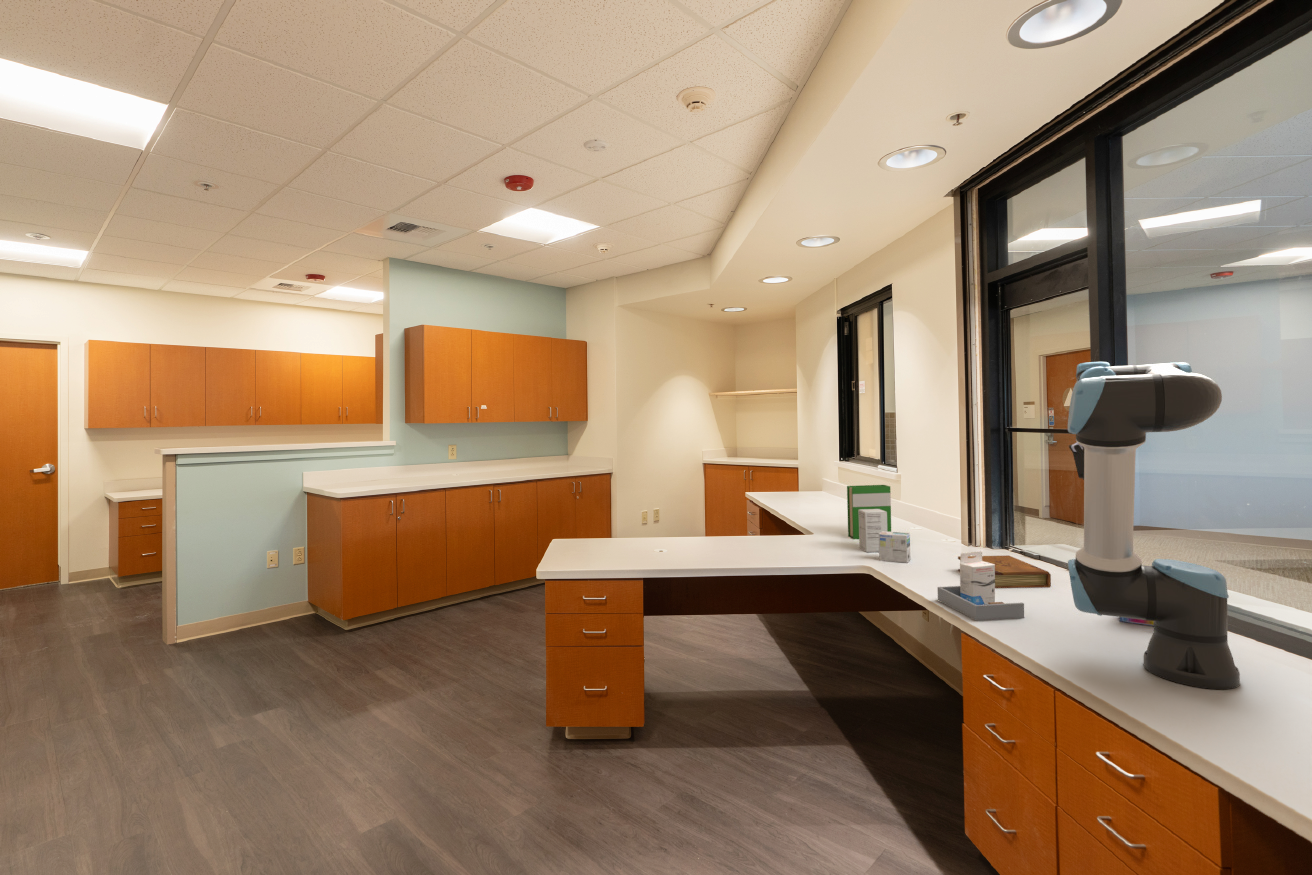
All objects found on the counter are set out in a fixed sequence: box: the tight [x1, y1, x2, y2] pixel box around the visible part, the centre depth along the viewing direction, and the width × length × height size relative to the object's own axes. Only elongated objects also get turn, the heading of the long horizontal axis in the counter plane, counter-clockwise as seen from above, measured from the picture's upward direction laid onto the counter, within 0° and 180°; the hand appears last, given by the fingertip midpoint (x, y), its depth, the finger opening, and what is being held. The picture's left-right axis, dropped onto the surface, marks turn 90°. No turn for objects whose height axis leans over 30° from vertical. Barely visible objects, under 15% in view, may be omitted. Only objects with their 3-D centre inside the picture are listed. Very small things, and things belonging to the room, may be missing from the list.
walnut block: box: [988, 601, 1005, 604], centre depth 168 cm, size 4×4×2 cm
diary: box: [957, 554, 1052, 589], centre depth 202 cm, size 23×19×6 cm
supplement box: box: [858, 509, 887, 553], centre depth 251 cm, size 10×9×17 cm
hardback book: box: [846, 484, 892, 540], centre depth 277 cm, size 18×7×24 cm, turn 91°
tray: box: [937, 585, 1025, 622], centre depth 171 cm, size 19×14×4 cm
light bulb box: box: [878, 531, 912, 564], centre depth 232 cm, size 11×7×11 cm, turn 58°
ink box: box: [959, 550, 996, 605], centre depth 177 cm, size 8×5×15 cm, turn 106°
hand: (1094, 504), depth 163 cm, fingers closed
